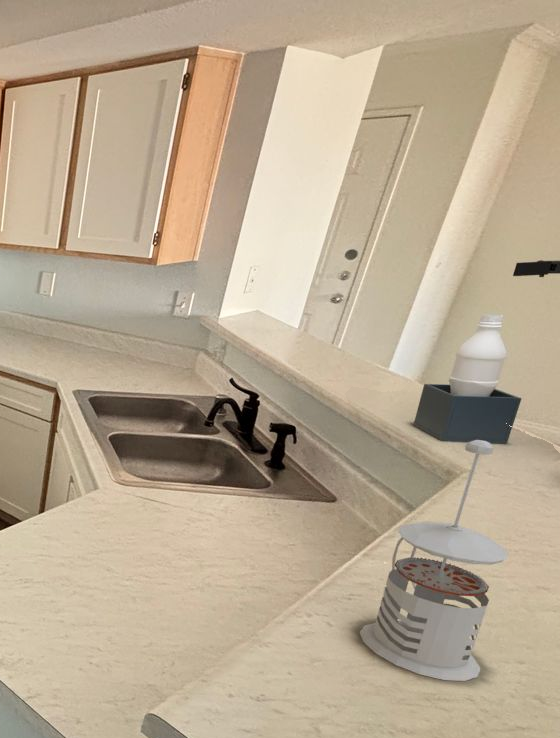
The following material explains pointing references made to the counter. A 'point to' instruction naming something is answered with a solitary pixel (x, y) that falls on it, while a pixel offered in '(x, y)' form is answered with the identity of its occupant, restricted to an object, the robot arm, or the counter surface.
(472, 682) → the counter surface
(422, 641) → the french press
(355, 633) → the counter surface
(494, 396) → the tub
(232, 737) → the counter surface
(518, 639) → the counter surface
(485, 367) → the water bottle
